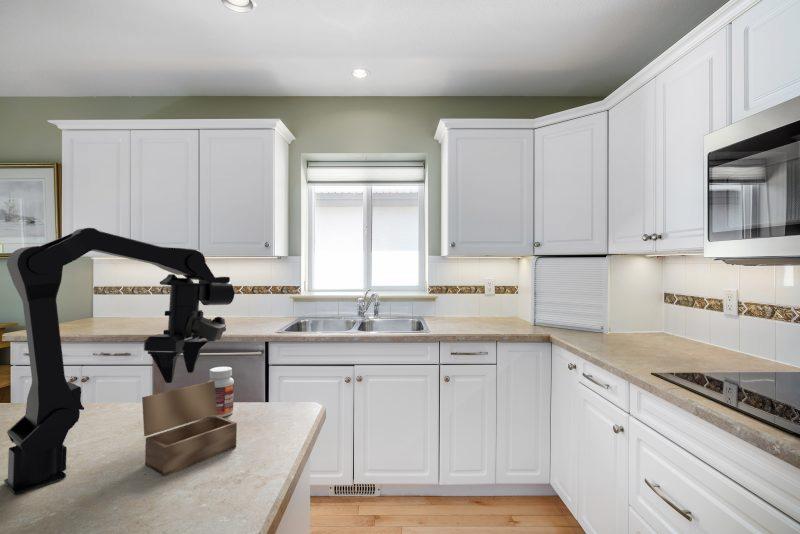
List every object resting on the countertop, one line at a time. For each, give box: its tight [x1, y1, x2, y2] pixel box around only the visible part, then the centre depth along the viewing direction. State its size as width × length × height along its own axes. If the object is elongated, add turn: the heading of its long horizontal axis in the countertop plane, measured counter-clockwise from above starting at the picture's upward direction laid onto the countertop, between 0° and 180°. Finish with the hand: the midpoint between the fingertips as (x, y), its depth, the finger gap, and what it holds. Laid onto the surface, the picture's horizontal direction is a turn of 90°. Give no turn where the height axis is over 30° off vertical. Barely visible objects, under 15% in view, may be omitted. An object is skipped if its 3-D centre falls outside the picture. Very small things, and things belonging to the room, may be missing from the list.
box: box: [144, 416, 238, 477], centre depth 76 cm, size 14×7×5 cm, turn 147°
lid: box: [141, 381, 217, 437], centre depth 79 cm, size 14×7×1 cm
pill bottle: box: [207, 366, 235, 418], centre depth 99 cm, size 6×6×11 cm
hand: (180, 377), depth 86 cm, fingers open, 9 cm apart
